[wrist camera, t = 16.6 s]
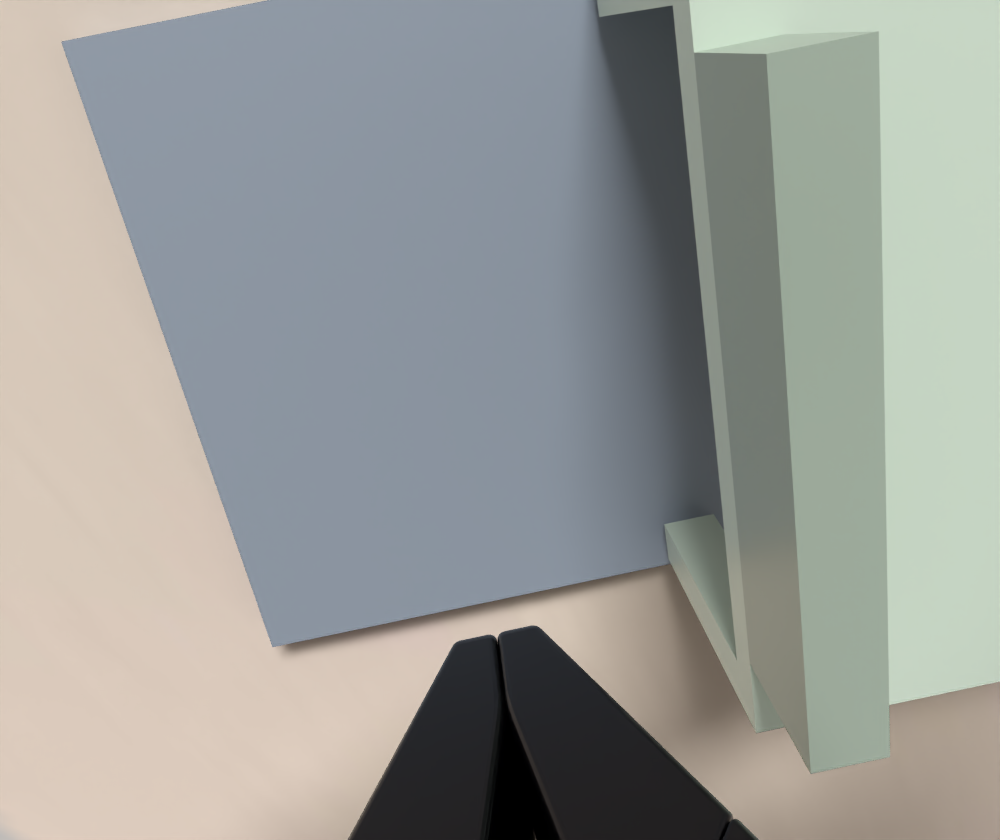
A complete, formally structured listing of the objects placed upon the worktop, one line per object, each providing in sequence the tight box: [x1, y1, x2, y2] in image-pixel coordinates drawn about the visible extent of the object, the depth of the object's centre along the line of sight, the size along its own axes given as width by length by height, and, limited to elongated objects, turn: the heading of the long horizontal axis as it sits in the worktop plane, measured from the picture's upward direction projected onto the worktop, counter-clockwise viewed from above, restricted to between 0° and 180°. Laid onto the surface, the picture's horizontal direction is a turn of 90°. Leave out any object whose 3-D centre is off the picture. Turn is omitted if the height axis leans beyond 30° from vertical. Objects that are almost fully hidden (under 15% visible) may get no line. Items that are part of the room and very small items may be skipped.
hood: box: [597, 0, 1000, 774], centre depth 15 cm, size 10×13×9 cm
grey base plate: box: [62, 0, 724, 647], centre depth 19 cm, size 22×14×4 cm, turn 100°
